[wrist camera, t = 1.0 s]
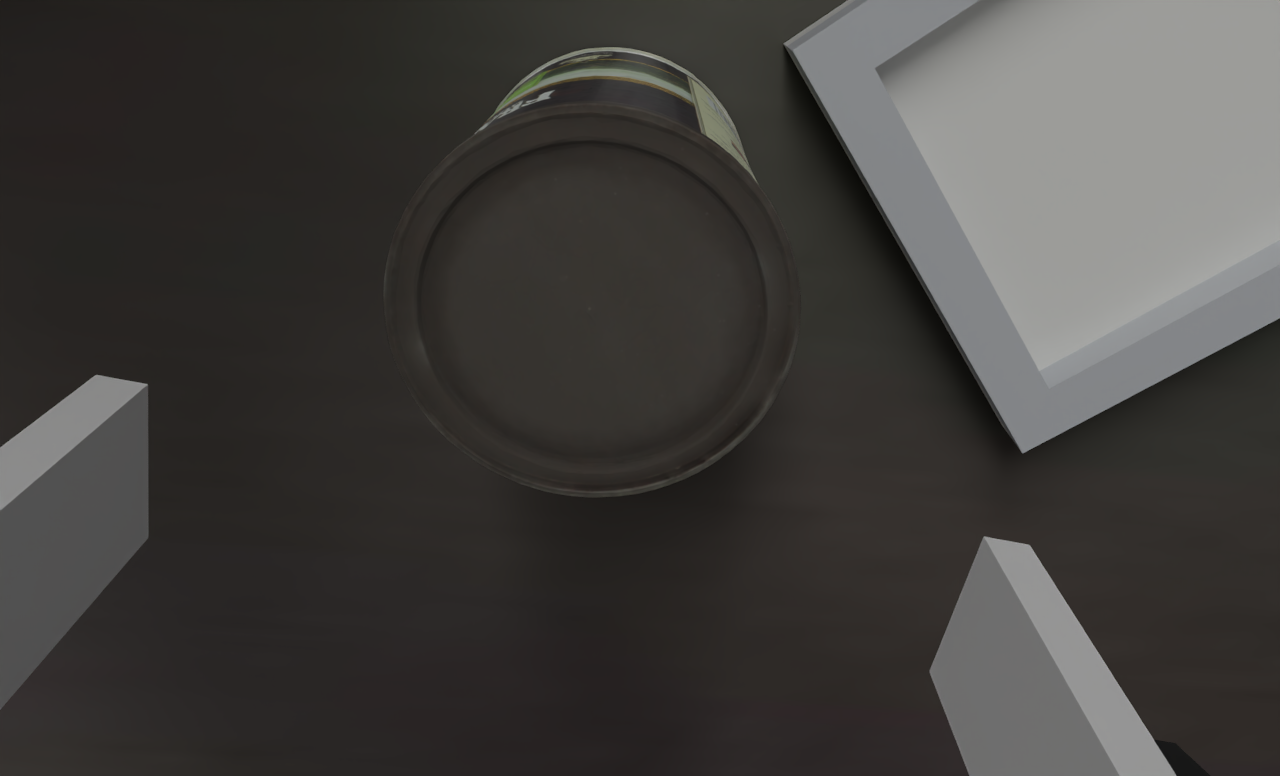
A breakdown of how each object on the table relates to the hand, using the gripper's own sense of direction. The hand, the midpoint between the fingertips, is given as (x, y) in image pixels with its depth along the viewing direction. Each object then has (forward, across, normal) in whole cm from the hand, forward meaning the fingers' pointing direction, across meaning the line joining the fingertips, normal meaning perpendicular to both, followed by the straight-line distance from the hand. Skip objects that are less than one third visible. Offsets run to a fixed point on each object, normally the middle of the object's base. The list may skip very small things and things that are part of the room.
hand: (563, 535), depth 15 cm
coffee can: (+24, 0, 0) cm, 24 cm away
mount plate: (+24, +18, +6) cm, 30 cm away
